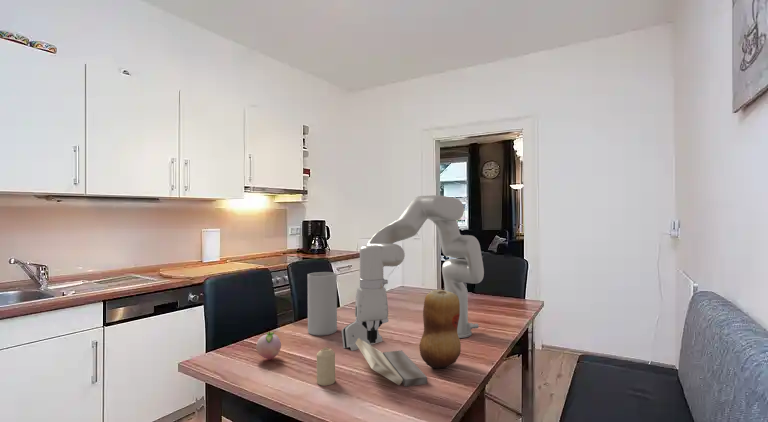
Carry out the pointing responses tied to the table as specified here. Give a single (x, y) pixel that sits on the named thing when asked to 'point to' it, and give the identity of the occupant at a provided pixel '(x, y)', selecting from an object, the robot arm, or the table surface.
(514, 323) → the table surface
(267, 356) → the decorative fruit
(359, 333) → the grey flat curved part
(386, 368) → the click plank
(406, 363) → the floor board
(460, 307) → the robot arm
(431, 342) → the butternut squash
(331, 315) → the cylinder vase
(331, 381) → the candle
